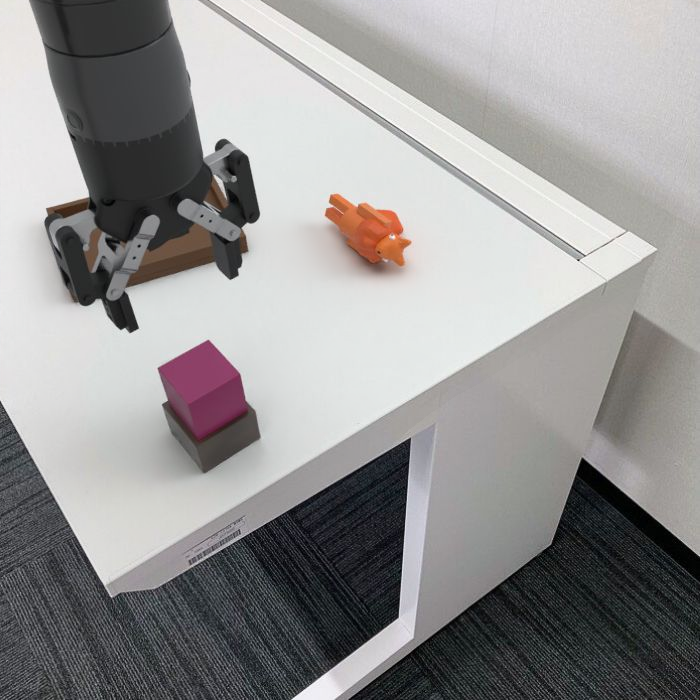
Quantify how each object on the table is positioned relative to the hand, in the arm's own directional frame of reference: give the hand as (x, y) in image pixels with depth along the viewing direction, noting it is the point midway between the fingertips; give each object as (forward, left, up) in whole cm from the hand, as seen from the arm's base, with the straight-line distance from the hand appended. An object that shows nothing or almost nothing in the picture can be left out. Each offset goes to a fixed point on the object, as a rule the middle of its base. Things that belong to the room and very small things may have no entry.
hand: (179, 298), depth 57 cm
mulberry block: (0, 0, -13) cm, 13 cm away
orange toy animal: (+24, +18, -17) cm, 34 cm away
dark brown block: (0, 0, -17) cm, 17 cm away
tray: (+1, +30, -17) cm, 34 cm away
